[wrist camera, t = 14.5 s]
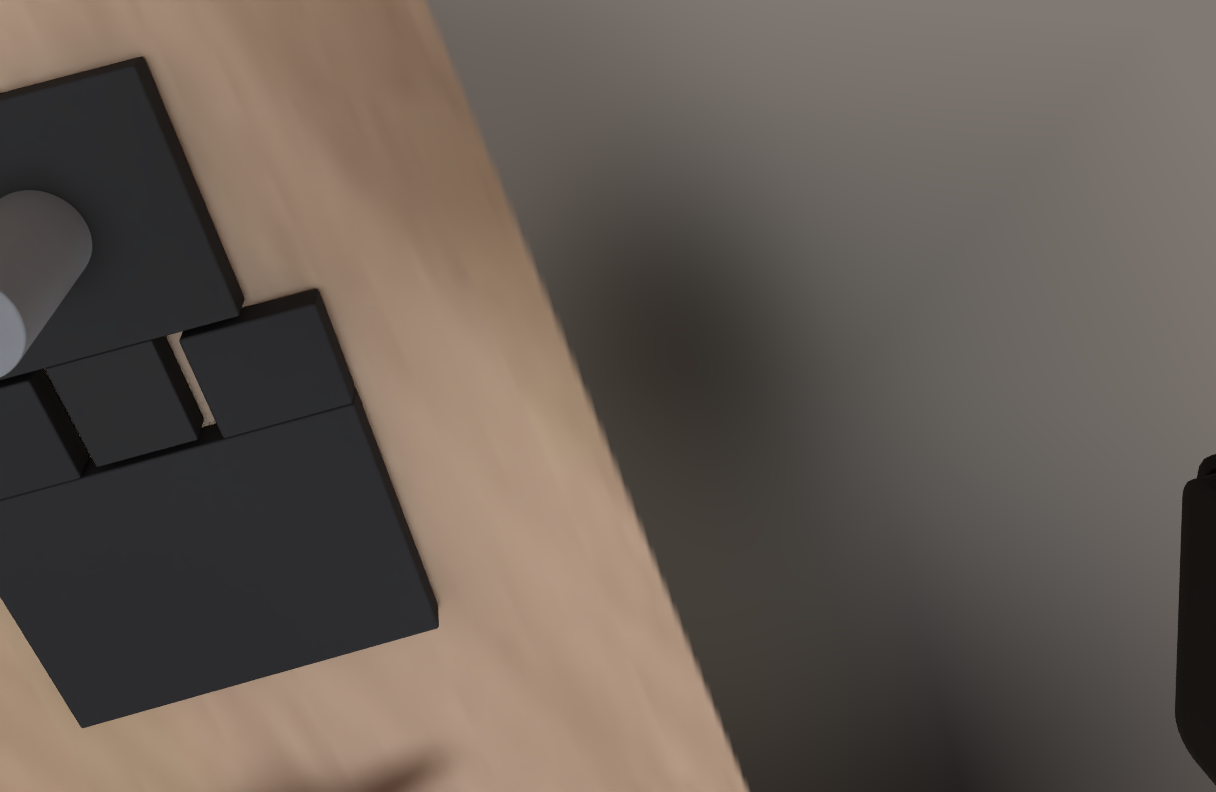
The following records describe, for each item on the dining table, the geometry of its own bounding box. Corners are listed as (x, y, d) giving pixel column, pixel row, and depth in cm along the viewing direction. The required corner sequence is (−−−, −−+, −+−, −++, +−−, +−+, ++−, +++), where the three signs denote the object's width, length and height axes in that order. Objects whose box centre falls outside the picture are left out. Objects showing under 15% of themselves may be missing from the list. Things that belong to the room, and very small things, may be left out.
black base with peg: (144, 55, 29) (71, 124, 22) (286, 398, 34) (258, 533, 27) (-167, 136, 28) (-329, 228, 22) (23, 469, 33) (-66, 623, 27)
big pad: (317, 287, 32) (315, 303, 31) (438, 606, 38) (439, 628, 37) (-95, 398, 32) (-112, 418, 31) (90, 704, 38) (81, 729, 37)
